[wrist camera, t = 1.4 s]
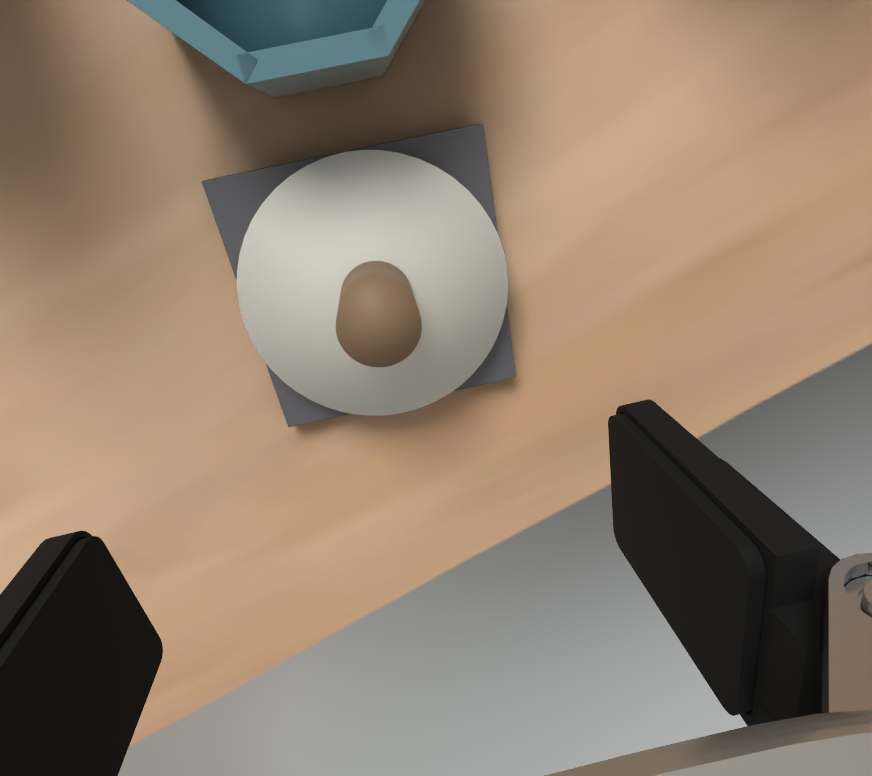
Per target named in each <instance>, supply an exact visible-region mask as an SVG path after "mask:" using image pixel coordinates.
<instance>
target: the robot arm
mask: <svg viewBox="0 0 872 776" xmlns="http://www.w3.org/2000/svg"><path fill="white" fill-rule="evenodd" d="M608 429H609V449H610V469H611V489H612V508H613V527H614V534H615V538H616V541H617V543H618V546H619V548H620V549H621V551H622V552H623V554H624V556H625V557H626V559H627V560H628V561H629V563H630V565H631V566H632V568H633V569H634V571H635V572H636V574H637V576H638V577H639V579H640V580H641V581H642V583H643V585H644V586H645V588H646V589H647V591H648V592H649V594H650V595H651V597H652V598H653V600H654V602H655V603H656V605H657V606H658V608H659V609H660V611H661V612H662V614H663V615H664V617H665V618H666V620H667V621H668V623H669V624H670V626H671V628H672V629H673V631H674V632H675V634H676V635H677V637H678V638H679V640H680V641H681V643H682V645H683V646H684V648H685V649H686V651H687V652H688V654H689V655H690V657H691V658H692V660H693V661H694V663H695V664H696V666H697V668H698V669H699V671H700V672H701V674H702V675H703V677H704V678H705V680H706V681H707V683H708V684H709V686H710V688H711V689H712V691H713V692H714V694H715V695H716V697H717V698H718V700H719V701H720V703H721V704H722V706H723V707H724V709H725V710H726V711H727V712H728V713H729V714H731V715H733V716H734V715H738V714H740V715H741V717H742V718H743V720H744V721H745V723H746V724H747V727H743V728H739V729H734V730H730V731H726V732H722V733H717V734H713V735H709V736H705V737H700V738H697V739H692V740H687V741H683V742H679V743H675V744H670V745H666V746H662V747H658V748H653V749H649V750H645V751H641V752H637V753H632V754H628V755H625V756H620V757H616V758H613V759H608V760H605V761H601V762H597V763H593V764H589V765H585V766H581V767H577V768H573V769H569V770H566V771H562V772H557V773H554V774H550V775H546V776H872V553H866V554H855V555H852V556H849V557H846V558H844V559H841V560H840V559H839V558H838V557H837V556H835V555H834V554H833V553H832V552H831V551H830V550H828V549H827V548H826V547H825V546H824V545H823V544H821V543H820V542H819V541H818V540H817V539H816V538H814V537H813V536H812V535H811V534H810V533H809V532H807V531H806V530H805V529H804V528H802V526H800V525H799V524H798V523H797V522H796V521H795V520H793V519H792V518H791V517H790V516H789V515H788V514H786V513H785V512H784V511H783V510H782V509H781V508H779V507H778V506H777V505H776V504H775V503H774V502H772V501H771V500H770V499H769V498H768V497H767V496H765V495H764V494H763V493H762V492H761V491H759V490H758V489H757V488H756V487H755V486H754V485H753V484H751V483H750V482H749V481H748V480H746V478H744V477H743V476H742V475H741V474H740V473H739V472H737V471H736V470H735V469H734V468H733V467H732V466H730V465H729V464H728V463H727V462H725V461H723V460H722V459H720V458H718V457H717V456H716V455H715V454H714V453H713V452H711V451H710V450H709V449H708V448H707V447H706V446H705V445H703V444H702V443H701V442H700V441H699V440H698V439H696V438H695V437H694V436H693V435H692V434H691V433H689V432H688V431H687V430H686V429H685V428H684V427H683V426H681V425H680V424H679V423H678V422H677V421H676V420H674V419H673V418H672V417H671V416H670V415H669V414H667V413H666V412H665V411H664V410H663V409H662V408H661V407H659V406H658V405H657V404H656V403H655V402H653V401H652V400H644V401H640V402H635V403H631V404H627V405H622V406H619V407H618V408H617V412H616V415H614V416H610V418H609V420H608ZM162 653H163V648H162V642H161V639H160V637H159V635H158V634H157V632H156V630H155V629H154V627H153V625H152V624H151V622H150V620H149V618H148V617H147V615H146V613H145V612H144V610H143V608H142V607H141V605H140V603H139V602H138V600H137V598H136V596H135V595H134V593H133V591H132V590H131V588H130V586H129V585H128V583H127V581H126V580H125V578H124V576H123V574H122V573H121V571H120V569H119V568H118V566H117V564H116V563H115V561H114V559H113V557H112V556H111V554H110V552H109V551H108V549H107V547H106V546H105V544H104V542H103V541H102V540H101V539H100V538H99V537H96V536H93V537H92V536H91V534H89V533H88V532H86V531H78V532H74V533H69V534H65V535H61V536H57V537H52V538H49V539H46V540H45V541H43V542H42V543H41V544H40V545H39V547H38V548H37V549H36V551H35V552H34V553H33V554H32V556H31V557H30V558H29V559H28V561H27V562H26V563H25V564H24V566H23V567H22V568H21V569H20V571H19V572H18V573H17V574H16V576H15V577H14V578H13V579H12V581H11V582H10V583H9V584H8V586H7V587H6V588H5V590H4V591H3V592H2V593H1V595H0V776H118V773H119V770H120V768H121V765H122V763H123V760H124V757H125V755H126V752H127V749H128V747H129V744H130V742H131V739H132V736H133V734H134V731H135V728H136V726H137V723H138V720H139V718H140V715H141V713H142V710H143V707H144V705H145V702H146V699H147V697H148V694H149V692H150V689H151V686H152V684H153V681H154V678H155V676H156V673H157V671H158V668H159V665H160V663H161V659H162Z"/></svg>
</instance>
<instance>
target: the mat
mask: <svg viewBox="0 0 872 776" xmlns="http://www.w3.org/2000/svg"><path fill="white" fill-rule="evenodd" d="M357 150H384V151H391V152H397V153H402V154H405V155H408V156H411V157H415V158H418V159H421V160H423V161H425V162H427V163H429V164H431V165H434V166H436V167H438V168H439V169H441V170H442V171H444V172H446V173H447V174H449V175H450V176H452V177H453V178H455V179H456V180H457V181H458V182H459V183H460V184H462V185H463V186H464V187H465V188H466V189H467V190H468V191H469V192H470V193H471V194H472V195H473V196H474V197H475V199H476V200H477V201H478V202H479V203H480V204H481V206H482V207H483V209H484V210H485V212H486V213H487V215H488V216H489V218H490V219H491V221H492V223H493V225H494V227H495V229H496V231H497V227H496V219H495V212H494V204H493V196H492V189H491V181H490V173H489V166H488V158H487V150H486V142H485V135H484V127H483V124H477V125H472V126H467V127H463V128H458V129H453V130H448V131H443V132H438V133H433V134H428V135H424V136H419V137H414V138H409V139H404V140H399V141H394V142H389V143H385V144H380V145H375V146H370V147H365V148H360V149H355V150H350V151H357ZM346 152H349V151H346ZM341 153H342V152H341ZM336 154H339V153H336ZM332 155H335V154H331V155H326V156H321V157H316V158H311V159H307V160H302V161H297V162H292V163H287V164H282V165H277V166H272V167H268V168H263V169H258V170H253V171H248V172H243V173H238V174H233V175H229V176H224V177H219V178H214V179H209V180H205V181H202V184H203V187H204V189H205V192H206V195H207V198H208V201H209V204H210V206H211V209H212V212H213V215H214V218H215V221H216V223H217V226H218V229H219V232H220V235H221V237H222V240H223V243H224V246H225V249H226V252H227V254H228V257H229V260H230V263H231V266H232V269H233V271H234V274H235V277H236V280H237V268H238V261H239V254H240V250H241V247H242V243H243V240H244V236H245V234H246V232H247V230H248V227H249V225H250V223H251V221H252V219H253V217H254V216H255V214H256V212H257V211H258V209H259V208H260V206H261V205H262V203H263V202H264V201H265V200H266V198H267V197H268V196H269V195H270V194H271V193H272V192H273V190H274V189H275V188H276V187H278V186H279V185H280V184H281V183H282V182H283V181H285V180H286V179H287V178H288V177H289V176H291V175H292V174H294V173H295V172H297V171H299V170H300V169H302V168H303V167H305V166H307V165H309V164H311V163H314V162H316V161H318V160H320V159H323V158H325V157H328V156H332ZM266 365H267V364H266ZM267 368H268V371H269V373H270V376H271V379H272V382H273V385H274V388H275V390H276V393H277V396H278V399H279V402H280V405H281V407H282V410H283V413H284V416H285V419H286V421H287V424H288V427H292V426H297V425H301V424H306V423H310V422H315V421H319V420H324V419H328V418H333V417H337V416H342V415H346V414H351V413H345V412H340V411H337V410H334V409H331V408H328V407H325V406H323V405H320V404H318V403H316V402H314V401H311V400H309V399H308V398H306V397H304V396H303V395H301V394H299V393H298V392H296V391H295V390H294V389H292V388H291V387H290V386H288V385H287V384H286V383H284V382H283V381H282V380H281V379H280V378H279V377H278V376H277V375H276V374H275V373H274V372H273V371H272V370H271V369H270V368H269V366H268V365H267ZM514 377H516V374H515V366H514V358H513V350H512V343H511V335H510V327H509V320H508V312H507V305H506V310H505V315H504V320H503V323H502V326H501V329H500V332H499V334H498V337H497V339H496V341H495V343H494V345H493V347H492V349H491V350H490V352H489V353H488V355H487V357H486V358H485V360H484V361H483V363H482V364H481V365H480V366H479V367H478V369H477V370H476V371H475V372H474V373H473V374H472V375H471V376H470V377H469V378H468V379H467V380H466V381H465V382H464V383H463V384H462V385H461V386H459V387H458V388H456V389H455V390H460V389H464V388H469V387H474V386H478V385H483V384H487V383H492V382H496V381H501V380H505V379H510V378H514ZM455 390H454V391H455Z"/></svg>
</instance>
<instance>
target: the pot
mask: <svg viewBox="0 0 872 776" xmlns="http://www.w3.org/2000/svg"><path fill="white" fill-rule="evenodd" d="M127 1H129V2H130V3H131V4H133V5H134V6H136V7H137V8H138V9H140V10H141V11H143V12H144V13H146V14H147V15H148V16H150V17H151V18H153V19H154V20H155V21H157V22H158V23H160V24H161V25H163V26H164V27H165V28H167V29H168V30H170V31H171V32H173V33H174V34H175V35H177V36H178V37H180V38H181V39H182V40H184V41H185V42H187V43H188V44H190V45H191V46H192V47H194V48H195V49H197V50H198V51H199V52H201V53H202V54H204V55H205V56H207V57H208V58H209V59H211V60H212V61H214V62H215V63H216V64H218V65H219V66H221V67H222V68H224V69H225V70H226V71H228V72H229V73H231V74H232V75H233V76H235V77H236V78H238V79H239V80H241V81H242V82H243V83H245V84H246V85H248V86H250V87H252V88H254V89H256V90H258V91H260V92H263V93H265V94H267V95H269V96H271V97H273V98H277V97H282V96H287V95H292V94H297V93H302V92H307V91H312V90H317V89H322V88H327V87H332V86H337V85H342V84H347V83H351V82H356V81H361V80H366V79H371V78H376V77H381V76H382V77H383V75H384V73H385V71H386V69H387V68H388V66H389V64H390V62H391V61H392V59H393V57H394V55H395V54H396V52H397V50H398V48H399V47H400V45H401V43H402V41H403V39H404V38H405V36H406V34H407V32H408V31H409V29H410V27H411V25H412V24H413V22H414V20H415V18H416V17H417V15H418V13H419V11H420V9H421V8H422V6H423V4H424V2H425V1H426V0H127Z"/></svg>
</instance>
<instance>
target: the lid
mask: <svg viewBox="0 0 872 776" xmlns="http://www.w3.org/2000/svg"><path fill="white" fill-rule="evenodd" d="M237 294H238V301H239V307H240V311H241V315H242V318H243V322H244V325H245V327H246V330H247V332H248V334H249V337H250V339H251V341H252V343H253V345H254V346H255V348H256V350H257V351H258V353H259V355H260V356H261V357H262V359H263V360H264V361H265V363H266V364H267V365H268V366H269V368H270V369H271V370H272V371H273V372H274V373H275V374H276V375H277V376H278V377H279V378H280V379H281V380H282V381H283V382H284V383H286V384H287V385H288V386H290V387H291V388H292V389H294V390H295V391H296V392H298V393H299V394H301V395H303V396H304V397H306V398H308V399H309V400H311V401H314V402H316V403H318V404H320V405H323V406H325V407H328V408H331V409H334V410H337V411H340V412H345V413H351V414H356V415H368V416H380V415H393V414H399V413H405V412H408V411H412V410H415V409H419V408H422V407H424V406H426V405H429V404H431V403H434V402H436V401H437V400H439V399H441V398H443V397H445V396H446V395H448V394H450V393H451V392H452V391H454V390H455V389H456V388H458V387H459V386H461V385H462V384H463V383H464V382H465V381H466V380H467V379H468V378H469V377H470V376H471V375H472V374H473V373H474V372H475V371H476V370H477V369H478V367H479V366H480V365H481V364H482V363H483V361H484V360H485V358H486V357H487V355H488V353H489V352H490V350H491V349H492V347H493V345H494V343H495V341H496V339H497V337H498V334H499V332H500V329H501V326H502V323H503V320H504V315H505V310H506V305H507V296H508V274H507V265H506V260H505V255H504V251H503V248H502V245H501V242H500V239H499V236H498V233H497V231H496V229H495V227H494V225H493V223H492V221H491V219H490V218H489V216H488V215H487V213H486V212H485V210H484V209H483V207H482V206H481V204H480V203H479V202H478V201H477V200H476V199H475V197H474V196H473V195H472V194H471V193H470V192H469V191H468V190H467V189H466V188H465V187H464V186H463V185H462V184H460V183H459V182H458V181H457V180H456V179H455V178H453V177H452V176H450V175H449V174H447V173H446V172H444V171H442V170H441V169H439V168H438V167H436V166H434V165H431V164H429V163H427V162H425V161H423V160H421V159H418V158H415V157H411V156H408V155H405V154H402V153H397V152H391V151H384V150H357V151H349V152H342V153H339V154H335V155H332V156H328V157H325V158H323V159H320V160H318V161H316V162H314V163H311V164H309V165H307V166H305V167H303V168H302V169H300V170H299V171H297V172H295V173H294V174H292V175H291V176H289V177H288V178H287V179H286V180H285V181H283V182H282V183H281V184H280V185H279V186H278V187H276V188H275V189H274V190H273V192H272V193H271V194H270V195H269V196H268V197H267V198H266V200H265V201H264V202H263V203H262V205H261V206H260V208H259V209H258V211H257V212H256V214H255V216H254V217H253V219H252V221H251V223H250V225H249V227H248V230H247V232H246V234H245V236H244V240H243V243H242V247H241V250H240V254H239V261H238V268H237Z"/></svg>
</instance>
